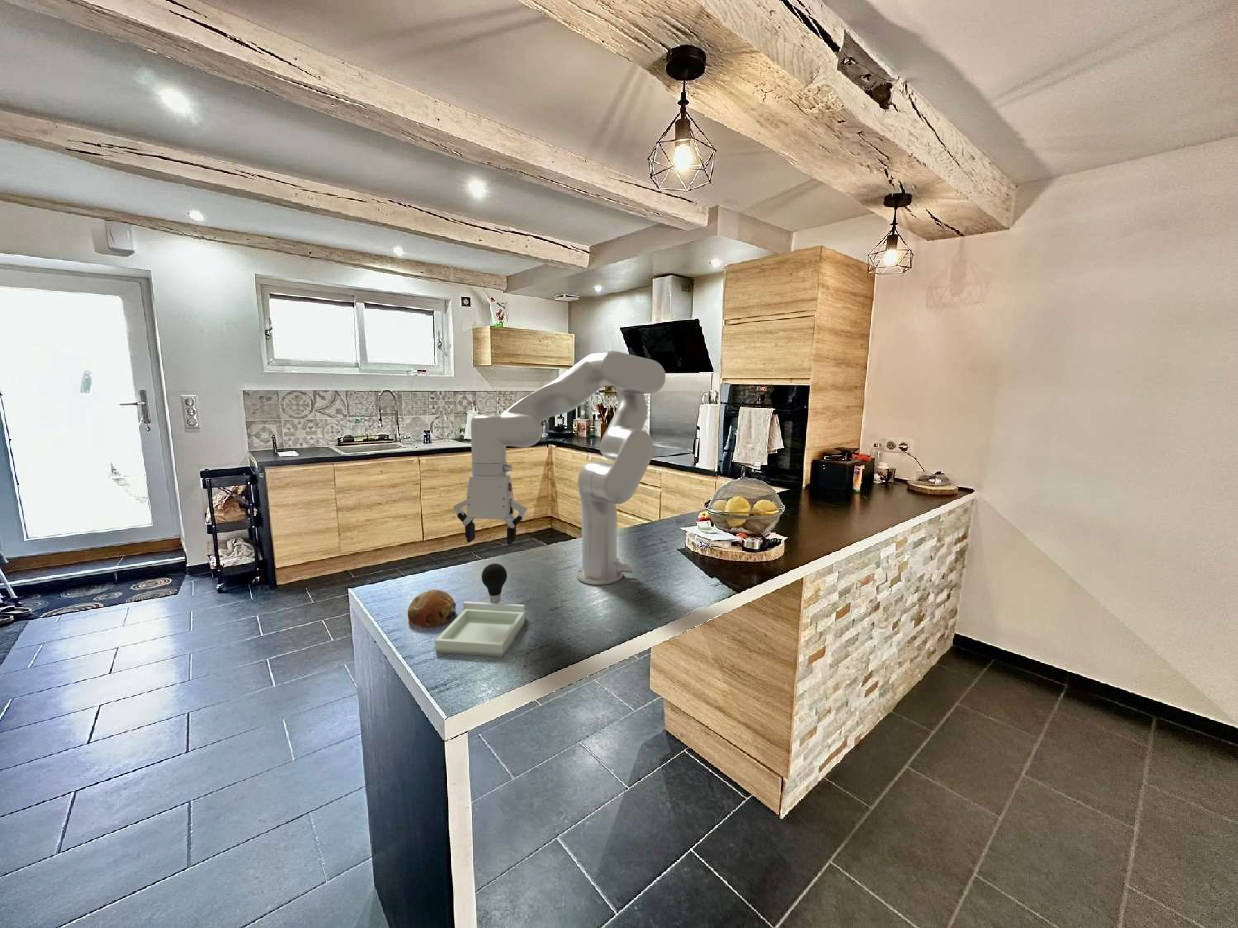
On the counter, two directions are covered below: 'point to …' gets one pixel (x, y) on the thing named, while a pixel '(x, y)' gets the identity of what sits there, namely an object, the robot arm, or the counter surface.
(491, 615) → the dish
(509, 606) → the white flat bar
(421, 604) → the bread roll
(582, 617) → the counter surface
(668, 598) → the counter surface
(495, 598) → the light bulb
